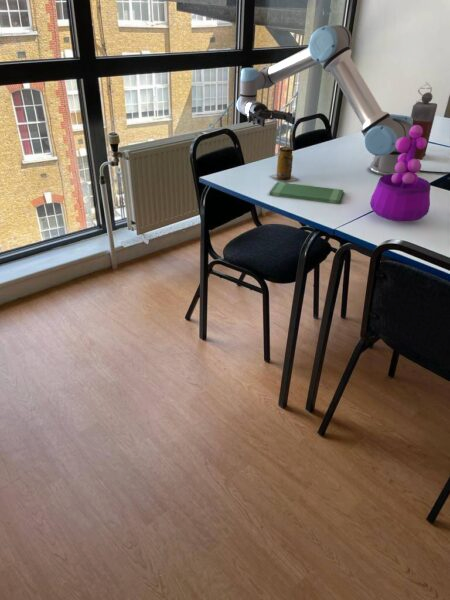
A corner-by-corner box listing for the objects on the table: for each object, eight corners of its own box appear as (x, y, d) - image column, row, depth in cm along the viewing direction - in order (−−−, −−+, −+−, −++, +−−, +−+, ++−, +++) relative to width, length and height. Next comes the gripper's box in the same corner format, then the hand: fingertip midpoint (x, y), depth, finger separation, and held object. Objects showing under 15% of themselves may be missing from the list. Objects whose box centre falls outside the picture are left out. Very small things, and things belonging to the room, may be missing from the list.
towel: (343, 192, 176) (343, 189, 175) (339, 203, 166) (339, 200, 165) (277, 184, 183) (277, 181, 182) (269, 194, 173) (269, 191, 172)
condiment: (286, 174, 194) (288, 145, 187) (297, 180, 188) (300, 150, 181) (271, 176, 191) (273, 147, 185) (282, 182, 185) (284, 152, 178)
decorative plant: (364, 223, 152) (382, 128, 135) (370, 204, 166) (387, 116, 150) (425, 232, 146) (451, 134, 130) (426, 211, 161) (449, 121, 144)
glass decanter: (426, 154, 222) (441, 91, 206) (421, 160, 214) (436, 95, 198) (407, 151, 226) (420, 89, 210) (401, 157, 217) (415, 93, 202)
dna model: (419, 149, 228) (435, 83, 212) (406, 148, 230) (420, 83, 213) (417, 146, 234) (432, 81, 218) (404, 145, 235) (418, 81, 219)
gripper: (281, 118, 207) (304, 129, 191) (230, 121, 199) (250, 133, 183) (282, 100, 203) (307, 110, 187) (230, 103, 195) (251, 113, 179)
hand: (279, 122), depth 185 cm, fingers open, 13 cm apart
